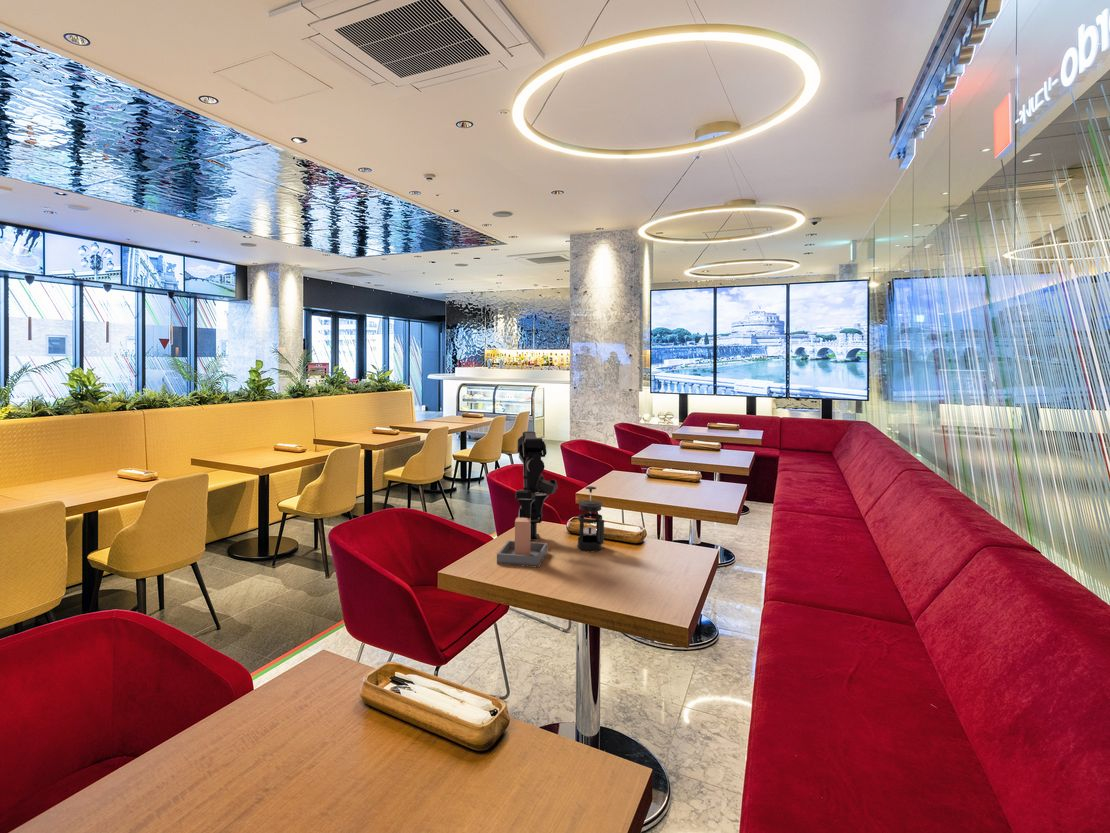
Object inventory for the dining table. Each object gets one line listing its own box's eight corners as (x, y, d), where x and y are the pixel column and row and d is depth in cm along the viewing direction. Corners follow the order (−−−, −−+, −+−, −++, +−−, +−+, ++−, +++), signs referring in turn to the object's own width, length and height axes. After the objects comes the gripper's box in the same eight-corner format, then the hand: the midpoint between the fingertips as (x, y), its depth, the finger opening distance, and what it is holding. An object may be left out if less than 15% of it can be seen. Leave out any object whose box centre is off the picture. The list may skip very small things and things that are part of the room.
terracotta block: (516, 553, 200) (516, 517, 199) (530, 553, 200) (530, 517, 199) (514, 558, 195) (514, 521, 194) (529, 558, 195) (529, 522, 194)
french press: (570, 546, 211) (571, 486, 208) (588, 541, 217) (589, 482, 215) (592, 554, 202) (593, 491, 200) (610, 549, 208) (612, 488, 206)
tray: (508, 549, 206) (508, 540, 206) (547, 552, 204) (547, 543, 203) (496, 563, 192) (496, 553, 192) (538, 567, 189) (538, 557, 189)
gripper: (544, 475, 191) (544, 521, 191) (563, 471, 209) (564, 514, 208) (514, 474, 195) (514, 519, 195) (536, 471, 213) (536, 512, 212)
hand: (533, 516), depth 202 cm, fingers open, 9 cm apart
